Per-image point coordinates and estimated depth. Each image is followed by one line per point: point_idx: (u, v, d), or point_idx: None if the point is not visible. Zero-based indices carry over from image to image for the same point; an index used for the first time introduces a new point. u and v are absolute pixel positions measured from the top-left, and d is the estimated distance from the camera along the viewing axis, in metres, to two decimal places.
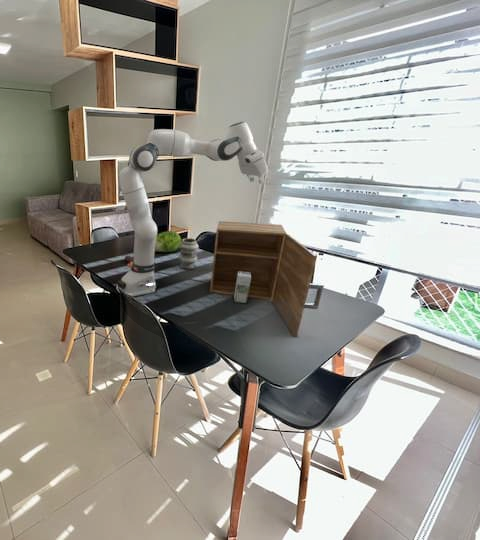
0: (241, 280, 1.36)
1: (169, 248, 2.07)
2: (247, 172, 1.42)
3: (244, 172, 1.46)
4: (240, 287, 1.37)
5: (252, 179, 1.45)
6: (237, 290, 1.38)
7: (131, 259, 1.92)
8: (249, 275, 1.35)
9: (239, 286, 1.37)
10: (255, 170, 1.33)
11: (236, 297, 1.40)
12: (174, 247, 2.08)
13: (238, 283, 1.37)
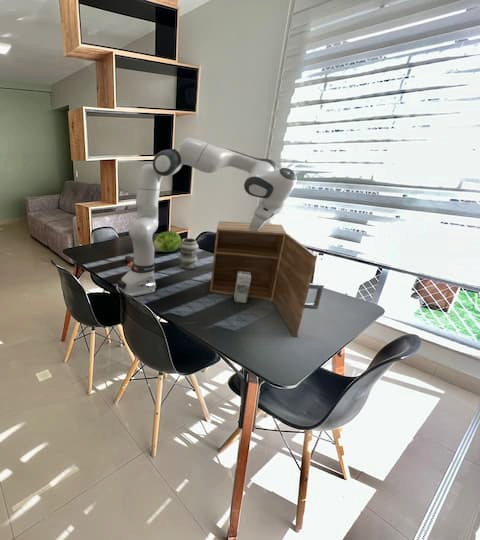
0: (241, 280, 1.36)
1: (169, 248, 2.07)
2: None
3: None
4: (240, 287, 1.37)
5: None
6: (237, 290, 1.38)
7: (131, 259, 1.92)
8: (249, 275, 1.35)
9: (239, 286, 1.37)
10: None
11: (236, 297, 1.40)
12: (174, 247, 2.08)
13: (238, 283, 1.37)
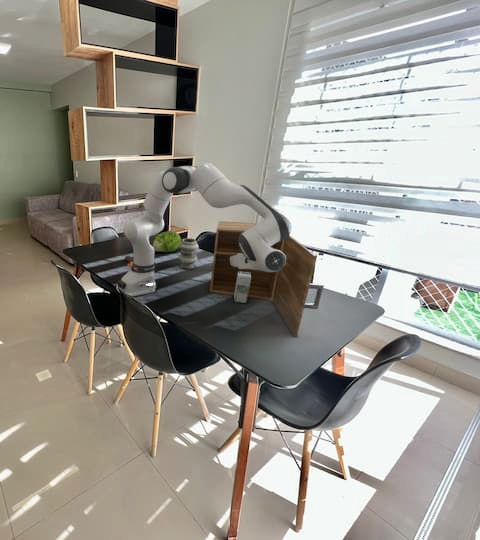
0: (241, 280, 1.36)
1: (169, 248, 2.07)
2: None
3: None
4: (240, 287, 1.37)
5: None
6: (237, 290, 1.38)
7: (131, 259, 1.92)
8: (249, 275, 1.35)
9: (239, 286, 1.37)
10: None
11: (236, 297, 1.40)
12: (174, 247, 2.08)
13: (238, 283, 1.37)
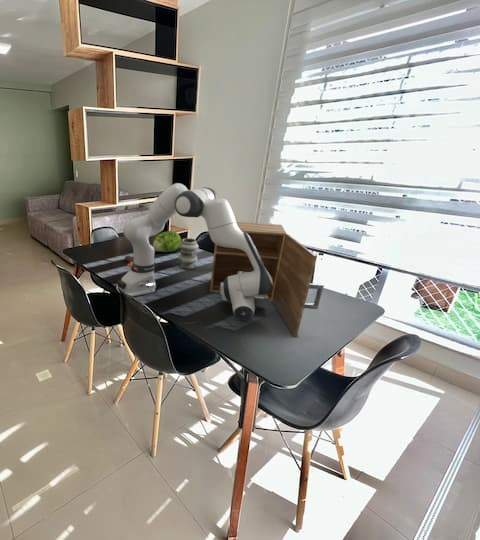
0: None
1: (169, 248, 2.07)
2: None
3: None
4: None
5: None
6: None
7: (131, 259, 1.92)
8: None
9: None
10: None
11: None
12: (174, 247, 2.08)
13: None
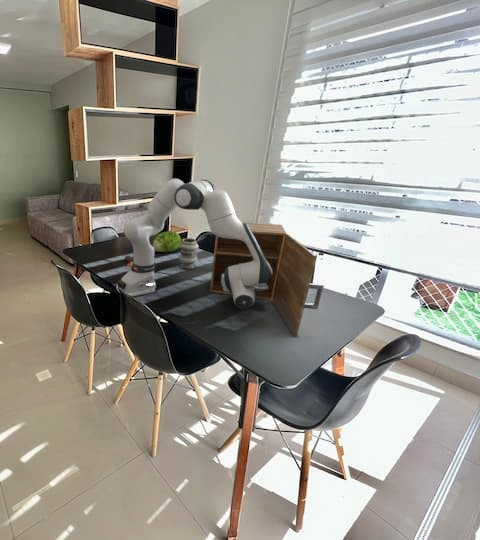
0: None
1: (169, 248, 2.07)
2: None
3: None
4: None
5: None
6: None
7: (131, 259, 1.92)
8: None
9: None
10: None
11: None
12: (174, 247, 2.08)
13: None
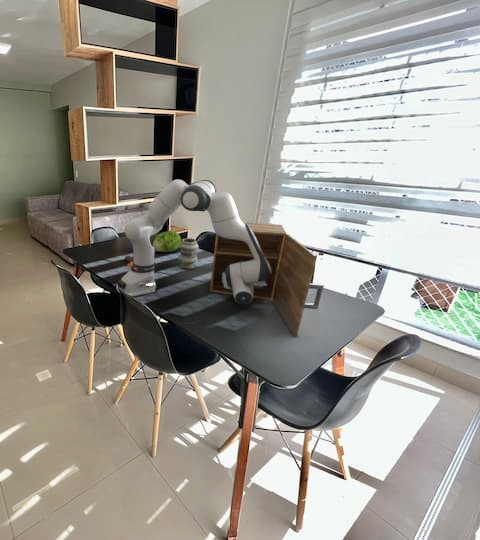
0: None
1: (169, 248, 2.07)
2: None
3: None
4: None
5: None
6: None
7: (131, 259, 1.92)
8: None
9: None
10: None
11: None
12: (174, 247, 2.08)
13: None
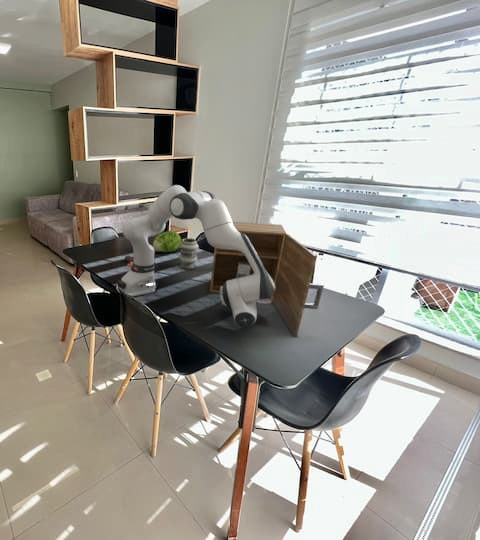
0: (241, 269, 1.46)
1: (169, 248, 2.07)
2: None
3: None
4: (240, 276, 1.47)
5: None
6: None
7: (131, 259, 1.92)
8: (249, 264, 1.45)
9: (239, 275, 1.47)
10: None
11: None
12: (174, 247, 2.08)
13: (239, 272, 1.47)
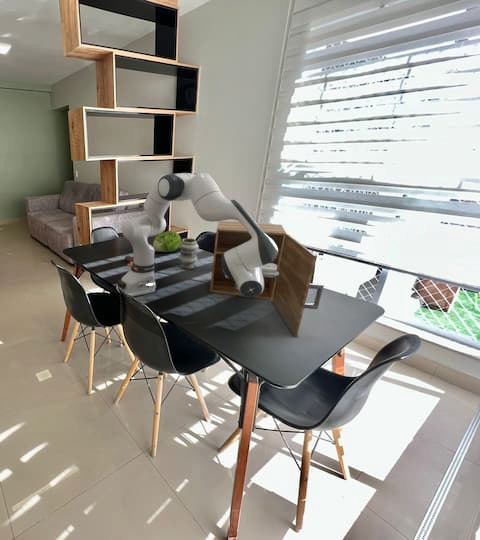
0: None
1: (169, 248, 2.07)
2: None
3: None
4: None
5: None
6: None
7: (131, 259, 1.92)
8: None
9: None
10: None
11: None
12: (174, 247, 2.08)
13: None
